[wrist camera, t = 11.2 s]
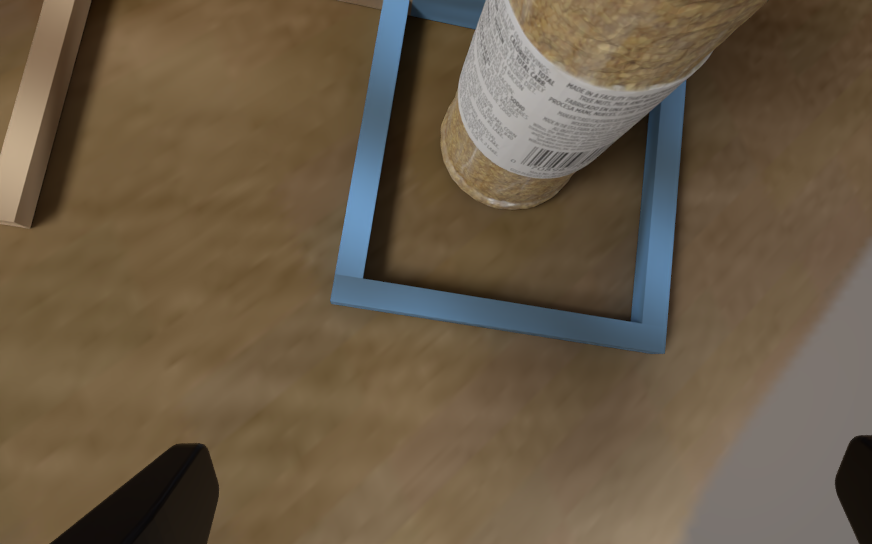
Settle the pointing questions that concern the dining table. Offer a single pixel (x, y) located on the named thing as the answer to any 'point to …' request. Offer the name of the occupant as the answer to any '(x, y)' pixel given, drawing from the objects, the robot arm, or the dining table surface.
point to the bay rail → (449, 3)
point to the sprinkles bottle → (568, 85)
